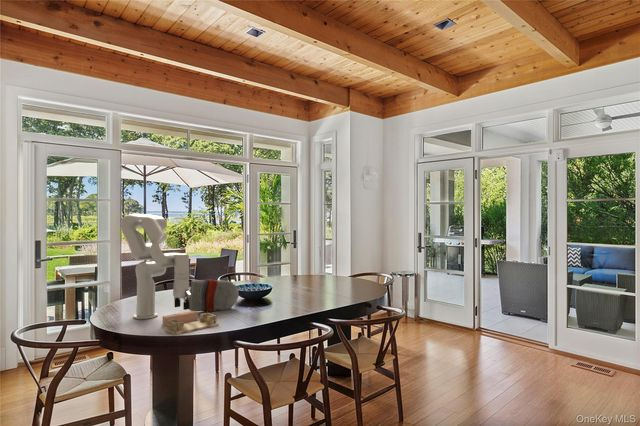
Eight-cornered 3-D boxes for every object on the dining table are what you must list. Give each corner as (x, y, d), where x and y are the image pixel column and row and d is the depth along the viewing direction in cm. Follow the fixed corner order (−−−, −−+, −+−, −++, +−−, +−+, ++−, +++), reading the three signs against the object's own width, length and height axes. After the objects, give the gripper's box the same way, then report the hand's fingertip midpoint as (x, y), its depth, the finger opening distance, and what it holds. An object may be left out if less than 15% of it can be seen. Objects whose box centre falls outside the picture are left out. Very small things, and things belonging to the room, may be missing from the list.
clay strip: (165, 327, 205) (166, 317, 205) (162, 325, 207) (162, 316, 208) (197, 321, 218) (197, 312, 218) (193, 319, 221) (193, 310, 221)
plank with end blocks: (175, 334, 191) (176, 324, 191) (164, 329, 200) (164, 319, 200) (218, 325, 209) (218, 316, 209) (206, 321, 217) (206, 312, 217)
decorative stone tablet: (194, 280, 230) (241, 280, 248) (190, 278, 235) (236, 279, 253) (190, 313, 229) (237, 311, 246) (186, 311, 234) (233, 309, 252)
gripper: (167, 275, 216) (167, 307, 216) (183, 278, 204) (183, 311, 204) (180, 274, 221) (180, 304, 221) (196, 276, 210) (196, 309, 209)
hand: (181, 308), depth 212 cm, fingers open, 9 cm apart
